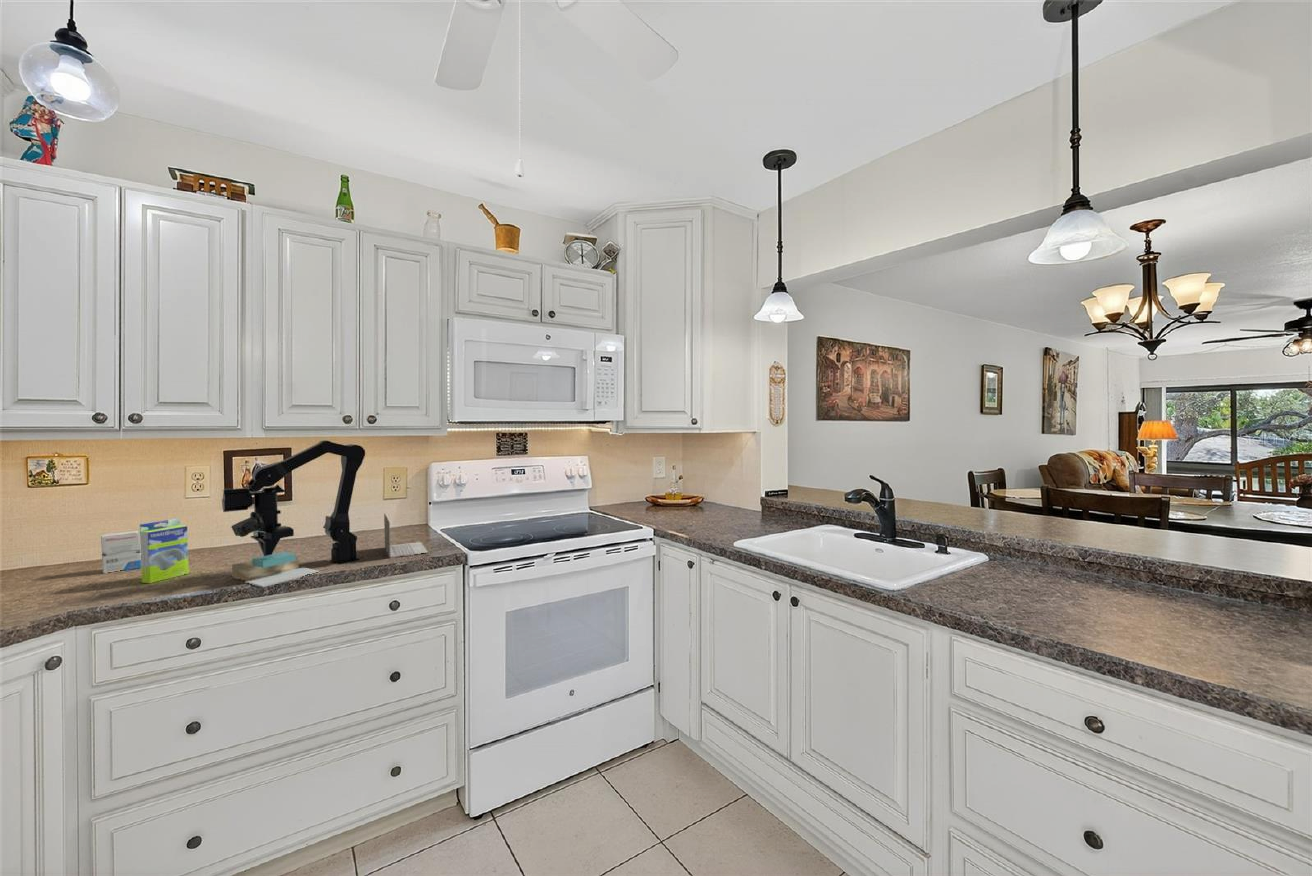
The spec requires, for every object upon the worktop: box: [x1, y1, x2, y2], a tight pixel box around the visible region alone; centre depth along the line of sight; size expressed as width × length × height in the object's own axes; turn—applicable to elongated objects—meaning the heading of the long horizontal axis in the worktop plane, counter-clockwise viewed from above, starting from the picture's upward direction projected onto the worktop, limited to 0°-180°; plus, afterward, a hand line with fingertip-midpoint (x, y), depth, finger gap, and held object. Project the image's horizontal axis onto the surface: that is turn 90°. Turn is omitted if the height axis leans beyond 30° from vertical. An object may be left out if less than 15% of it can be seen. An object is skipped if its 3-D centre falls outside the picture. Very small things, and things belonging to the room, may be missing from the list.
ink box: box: [100, 530, 142, 574], centre depth 167 cm, size 9×5×12 cm, turn 134°
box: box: [139, 517, 190, 584], centre depth 158 cm, size 10×4×17 cm, turn 163°
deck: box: [231, 556, 300, 581], centre depth 162 cm, size 14×9×4 cm, turn 153°
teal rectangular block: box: [251, 551, 297, 568], centre depth 160 cm, size 9×6×2 cm, turn 153°
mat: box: [244, 566, 320, 588], centre depth 158 cm, size 16×9×1 cm, turn 153°
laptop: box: [383, 513, 429, 559], centre depth 190 cm, size 18×12×13 cm
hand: (267, 557), depth 162 cm, fingers closed
